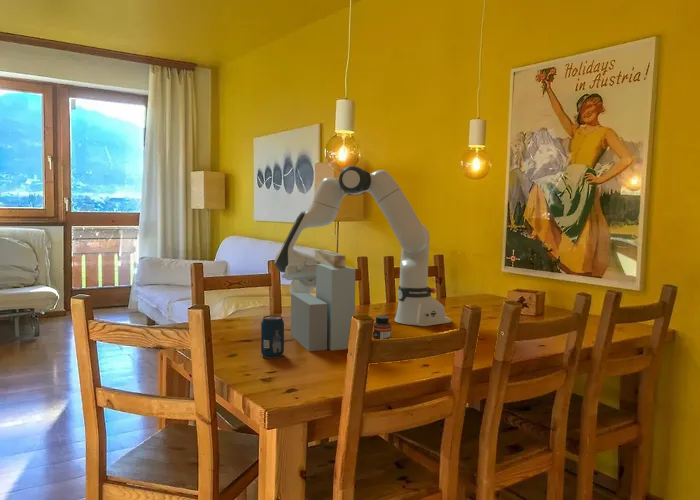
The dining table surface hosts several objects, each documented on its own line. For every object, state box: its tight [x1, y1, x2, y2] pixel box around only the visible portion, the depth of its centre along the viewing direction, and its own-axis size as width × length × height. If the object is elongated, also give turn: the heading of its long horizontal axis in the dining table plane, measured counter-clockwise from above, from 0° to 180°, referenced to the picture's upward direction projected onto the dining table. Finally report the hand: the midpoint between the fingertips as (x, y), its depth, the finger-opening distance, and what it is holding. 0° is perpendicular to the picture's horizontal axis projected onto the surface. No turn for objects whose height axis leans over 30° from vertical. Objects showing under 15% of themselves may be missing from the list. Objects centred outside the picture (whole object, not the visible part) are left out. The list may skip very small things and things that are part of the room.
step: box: [290, 293, 328, 352], centre depth 187 cm, size 6×22×15 cm, turn 21°
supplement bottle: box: [372, 315, 392, 339], centre depth 177 cm, size 6×6×11 cm
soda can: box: [260, 314, 285, 359], centre depth 170 cm, size 7×7×12 cm
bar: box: [314, 249, 346, 268], centre depth 189 cm, size 4×20×4 cm, turn 21°
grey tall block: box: [315, 264, 357, 351], centre depth 185 cm, size 8×16×26 cm, turn 21°
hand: (317, 263), depth 203 cm, fingers open, 8 cm apart
